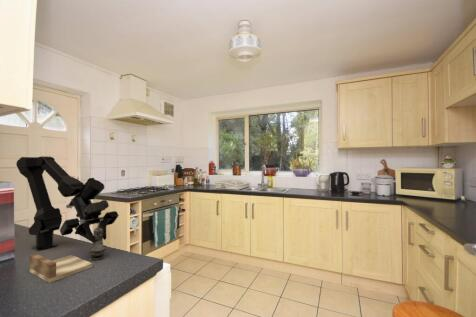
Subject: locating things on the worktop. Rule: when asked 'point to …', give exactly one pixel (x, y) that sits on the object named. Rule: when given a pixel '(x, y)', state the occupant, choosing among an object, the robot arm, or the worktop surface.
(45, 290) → the worktop surface
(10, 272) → the worktop surface
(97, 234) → the grey tall rounded piece
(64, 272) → the board
